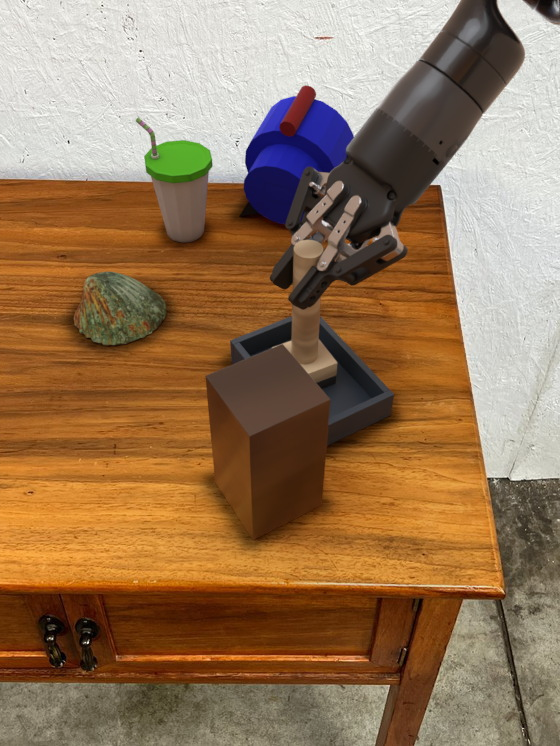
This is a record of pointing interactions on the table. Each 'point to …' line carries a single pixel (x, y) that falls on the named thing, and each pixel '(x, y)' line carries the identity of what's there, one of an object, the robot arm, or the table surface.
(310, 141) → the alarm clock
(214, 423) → the stand
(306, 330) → the wooden peg on base
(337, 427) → the tray
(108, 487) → the table surface
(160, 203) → the cup
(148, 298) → the seashell
